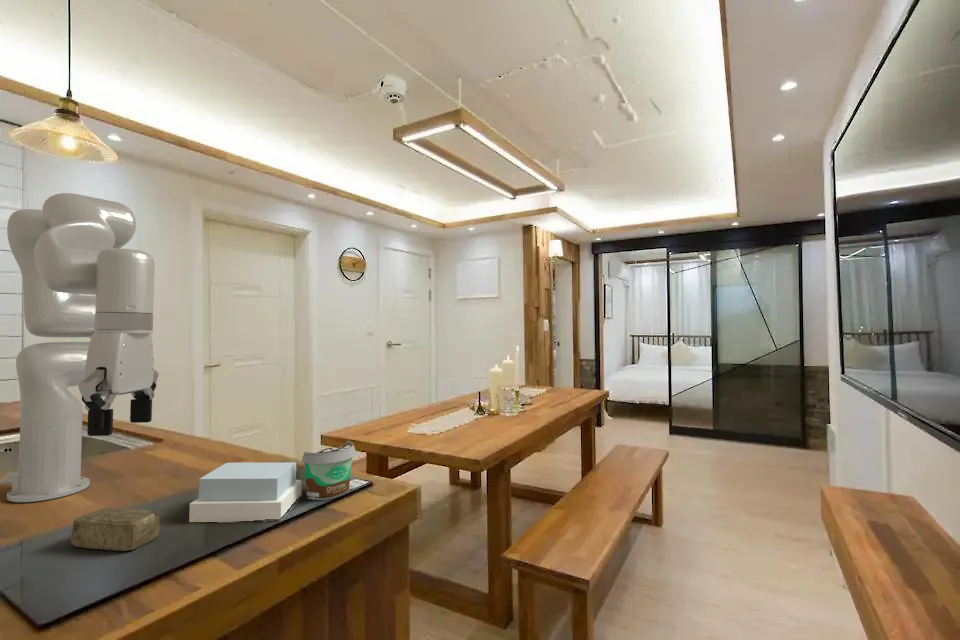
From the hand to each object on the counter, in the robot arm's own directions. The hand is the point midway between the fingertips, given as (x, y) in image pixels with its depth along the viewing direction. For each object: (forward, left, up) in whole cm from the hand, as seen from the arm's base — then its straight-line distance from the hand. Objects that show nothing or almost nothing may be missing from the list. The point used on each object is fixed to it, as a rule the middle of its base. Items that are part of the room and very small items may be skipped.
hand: (121, 428), depth 73 cm
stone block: (0, 0, -19) cm, 19 cm away
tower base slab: (+16, +13, -19) cm, 28 cm away
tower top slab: (+16, +13, -15) cm, 25 cm away
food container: (+31, +19, -19) cm, 40 cm away
